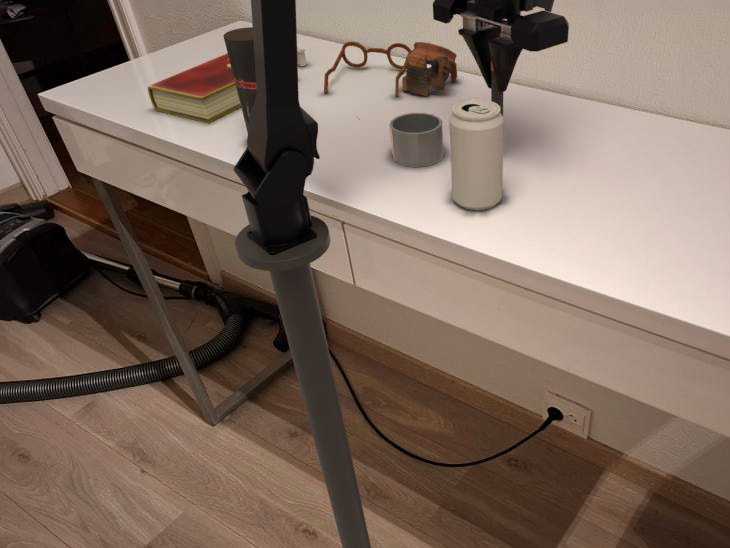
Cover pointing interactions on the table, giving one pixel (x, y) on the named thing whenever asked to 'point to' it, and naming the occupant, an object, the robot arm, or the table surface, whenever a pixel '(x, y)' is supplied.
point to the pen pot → (417, 139)
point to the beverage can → (476, 153)
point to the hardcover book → (198, 92)
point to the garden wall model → (301, 57)
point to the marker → (496, 91)
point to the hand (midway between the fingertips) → (497, 89)
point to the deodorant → (243, 67)
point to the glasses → (380, 50)
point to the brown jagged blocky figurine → (423, 76)
